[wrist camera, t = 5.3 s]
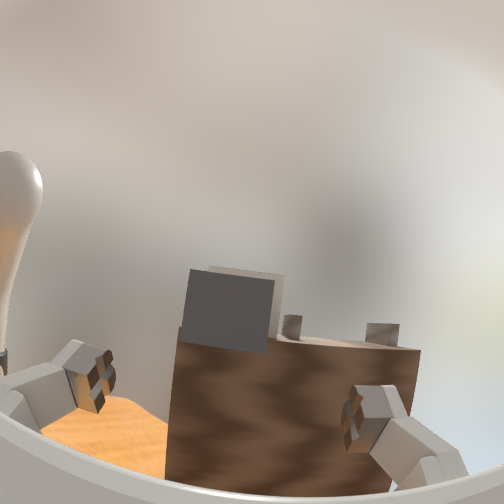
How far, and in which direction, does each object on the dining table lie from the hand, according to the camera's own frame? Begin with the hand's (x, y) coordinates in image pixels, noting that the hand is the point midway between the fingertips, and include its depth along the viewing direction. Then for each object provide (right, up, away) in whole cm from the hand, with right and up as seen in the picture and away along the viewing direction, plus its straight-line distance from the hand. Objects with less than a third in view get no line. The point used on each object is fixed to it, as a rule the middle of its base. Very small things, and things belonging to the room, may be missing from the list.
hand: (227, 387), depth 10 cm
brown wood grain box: (+2, -26, +12) cm, 29 cm away
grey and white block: (0, -1, +12) cm, 12 cm away
